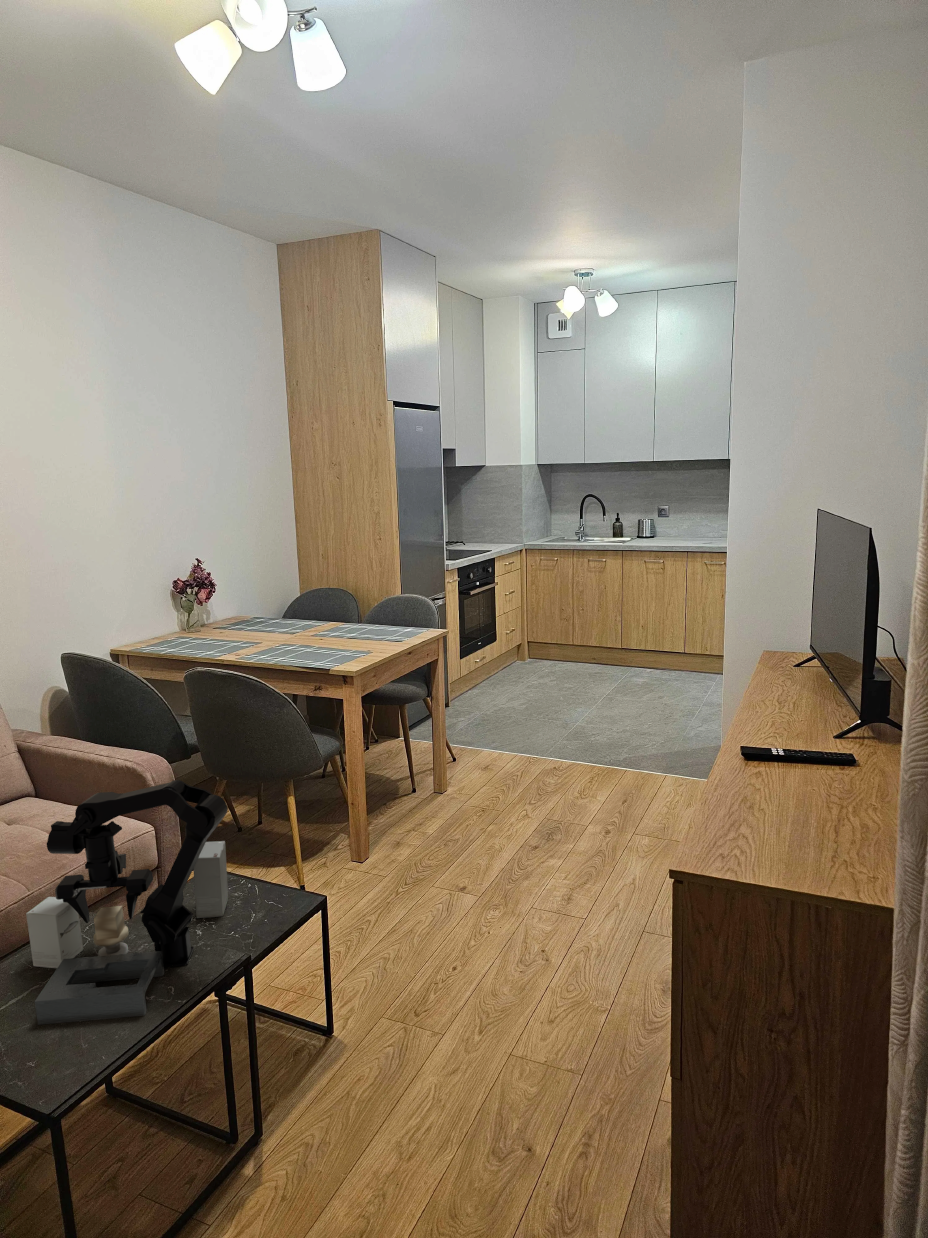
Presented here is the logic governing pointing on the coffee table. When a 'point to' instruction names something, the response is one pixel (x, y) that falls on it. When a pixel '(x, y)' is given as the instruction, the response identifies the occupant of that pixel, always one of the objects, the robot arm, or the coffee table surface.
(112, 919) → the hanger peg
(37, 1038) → the coffee table surface
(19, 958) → the coffee table surface
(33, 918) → the supplement box
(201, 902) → the skincare box
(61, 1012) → the keyhole plate
